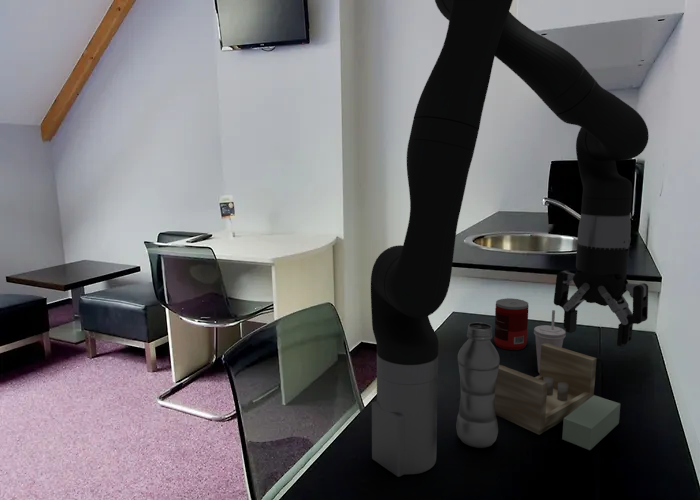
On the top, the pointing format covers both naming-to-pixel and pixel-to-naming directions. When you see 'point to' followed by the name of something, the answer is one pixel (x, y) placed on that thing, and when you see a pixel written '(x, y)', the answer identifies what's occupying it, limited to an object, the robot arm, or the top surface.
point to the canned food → (511, 323)
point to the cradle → (545, 389)
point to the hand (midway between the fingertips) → (595, 338)
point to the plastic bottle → (478, 387)
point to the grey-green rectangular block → (591, 422)
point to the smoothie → (548, 337)
